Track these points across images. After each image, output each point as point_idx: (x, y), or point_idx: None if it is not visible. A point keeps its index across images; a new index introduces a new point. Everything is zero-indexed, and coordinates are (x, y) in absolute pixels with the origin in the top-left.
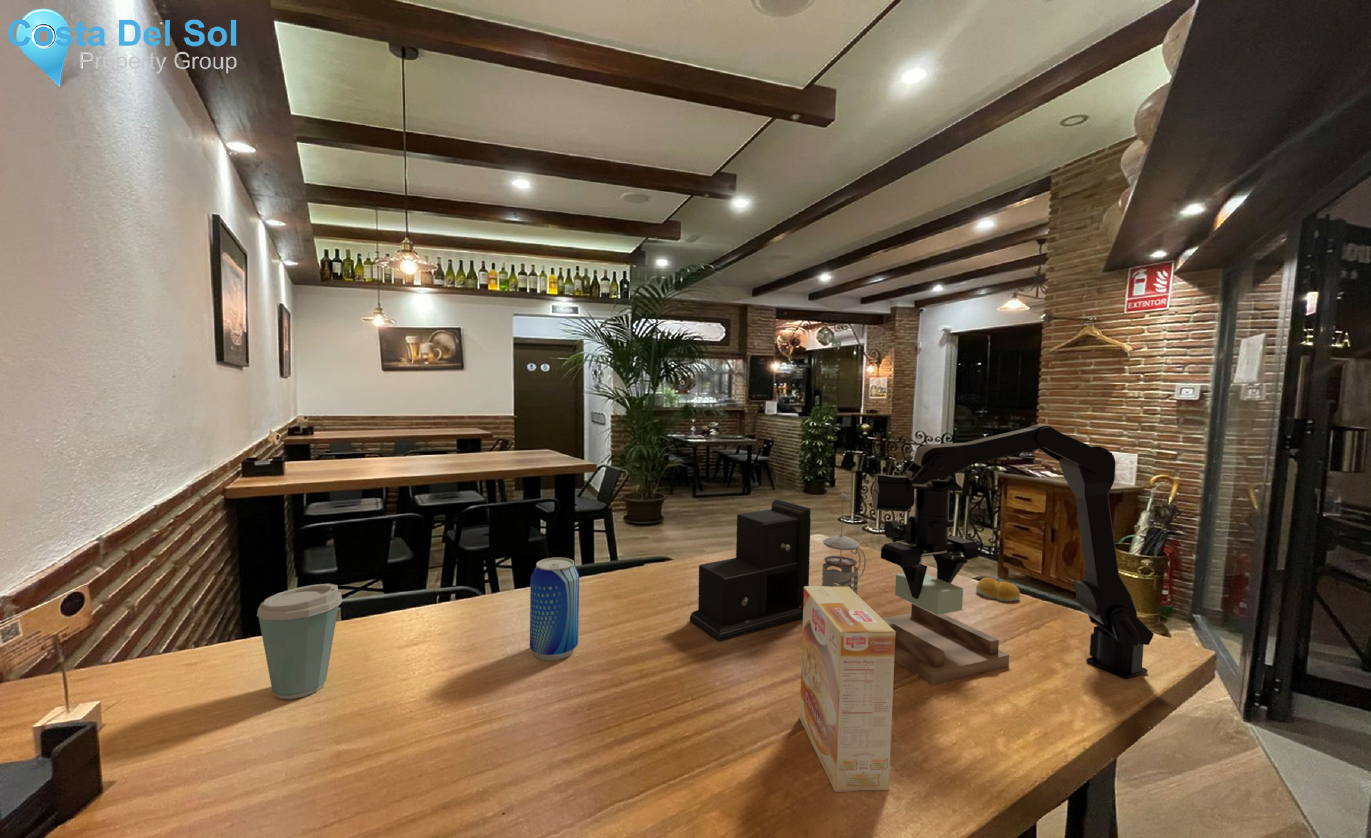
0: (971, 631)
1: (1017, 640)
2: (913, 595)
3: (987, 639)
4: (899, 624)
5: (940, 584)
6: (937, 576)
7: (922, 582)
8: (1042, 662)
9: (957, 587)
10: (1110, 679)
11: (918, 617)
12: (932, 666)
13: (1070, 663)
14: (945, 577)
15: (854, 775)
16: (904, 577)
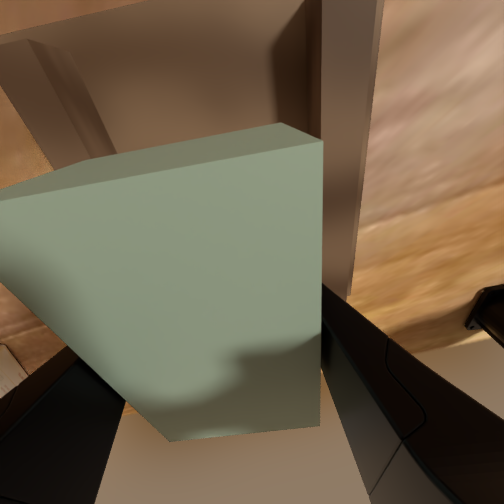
0: (324, 274)
1: (492, 196)
2: None
3: None
4: (197, 96)
5: (248, 398)
6: (331, 341)
7: (107, 442)
8: (414, 278)
9: (304, 420)
10: (444, 322)
11: (308, 54)
12: None
13: (455, 286)
14: (337, 394)
15: None
16: (33, 297)
